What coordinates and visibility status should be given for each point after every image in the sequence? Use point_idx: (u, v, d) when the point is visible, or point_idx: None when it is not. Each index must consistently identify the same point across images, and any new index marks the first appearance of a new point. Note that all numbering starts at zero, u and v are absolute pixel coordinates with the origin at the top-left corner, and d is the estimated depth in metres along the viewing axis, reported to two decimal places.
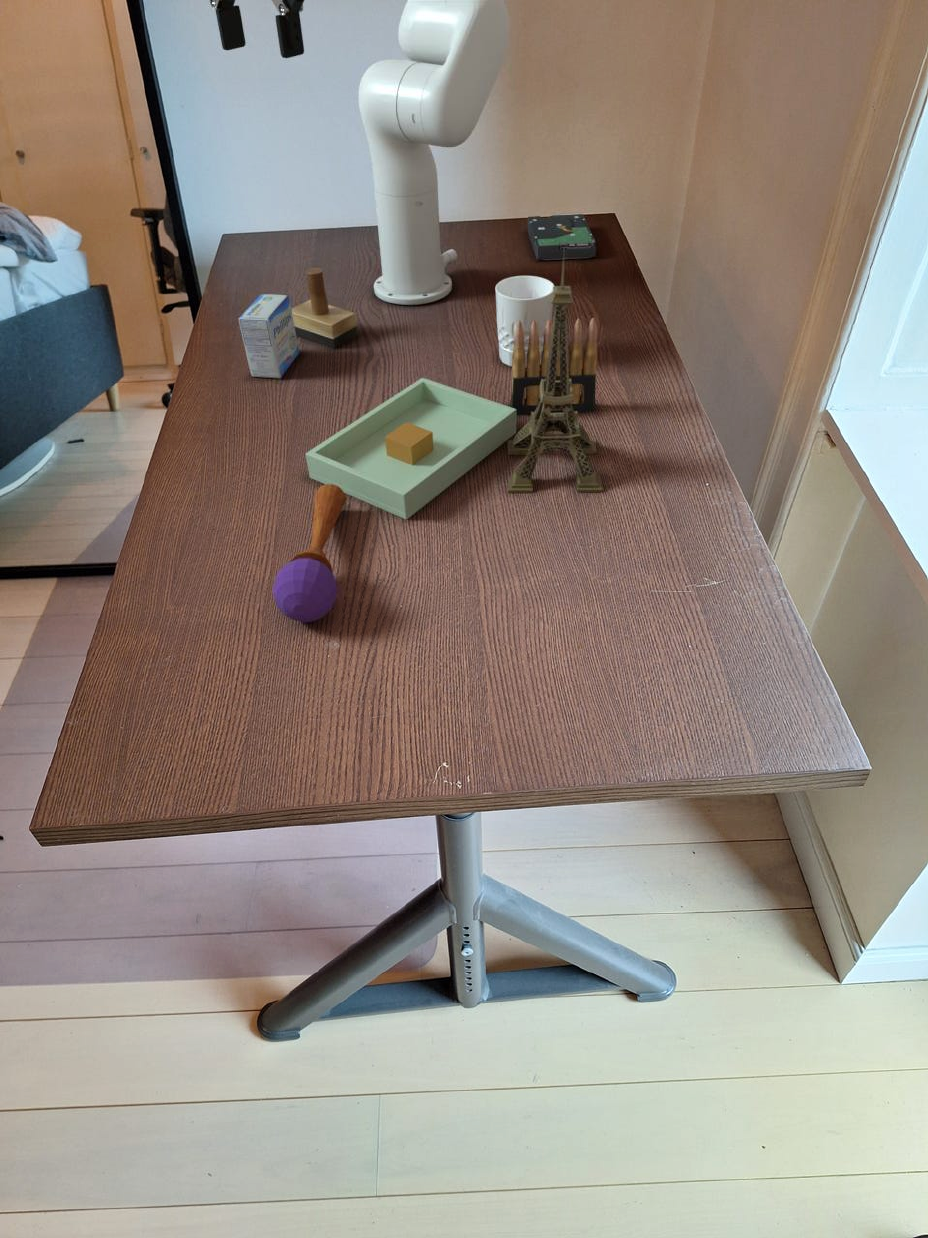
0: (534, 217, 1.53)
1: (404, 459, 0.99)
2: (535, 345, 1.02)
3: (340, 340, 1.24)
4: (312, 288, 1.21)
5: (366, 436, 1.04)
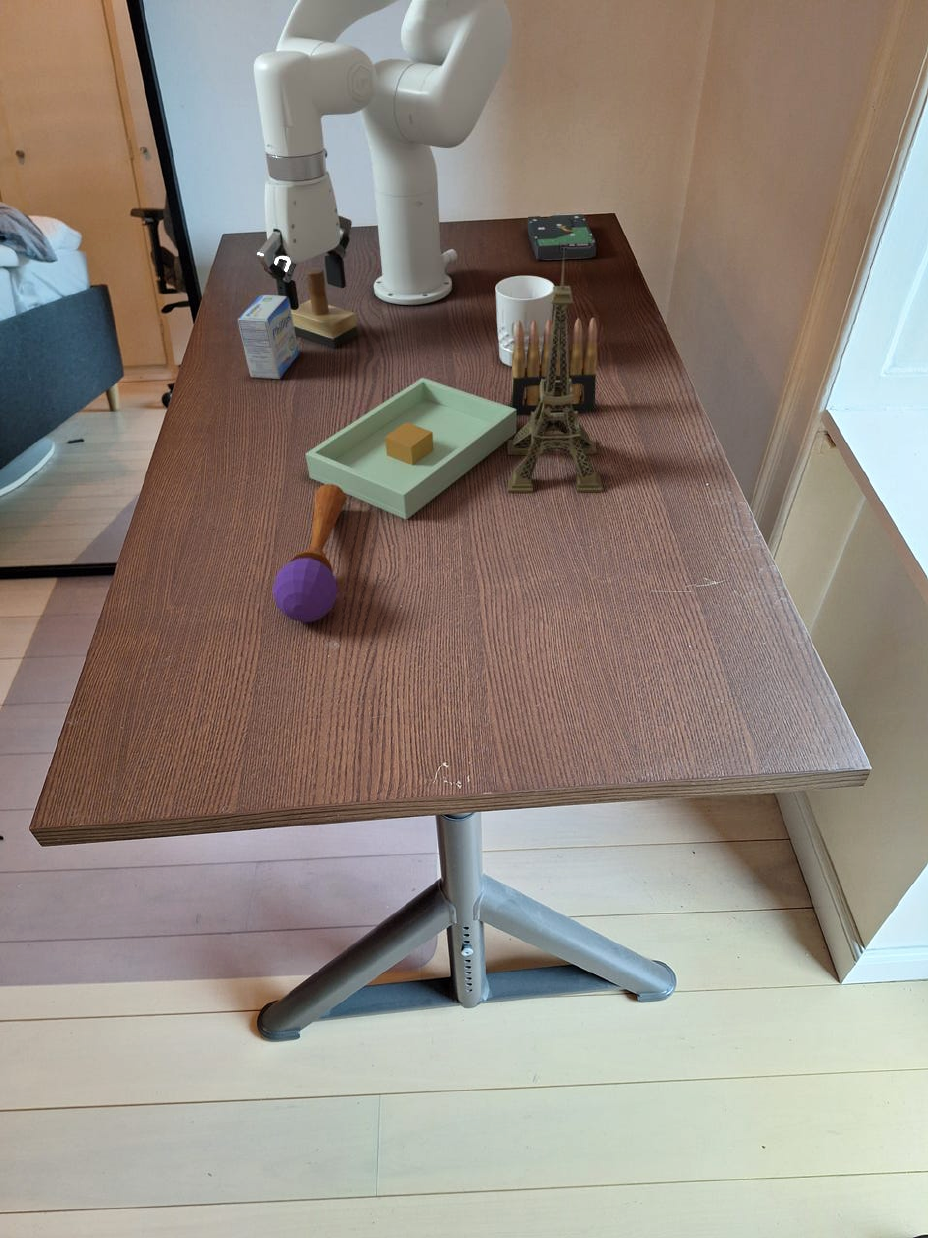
0: (534, 217, 1.53)
1: (404, 459, 0.99)
2: (535, 345, 1.02)
3: (340, 340, 1.24)
4: (312, 288, 1.21)
5: (366, 436, 1.04)
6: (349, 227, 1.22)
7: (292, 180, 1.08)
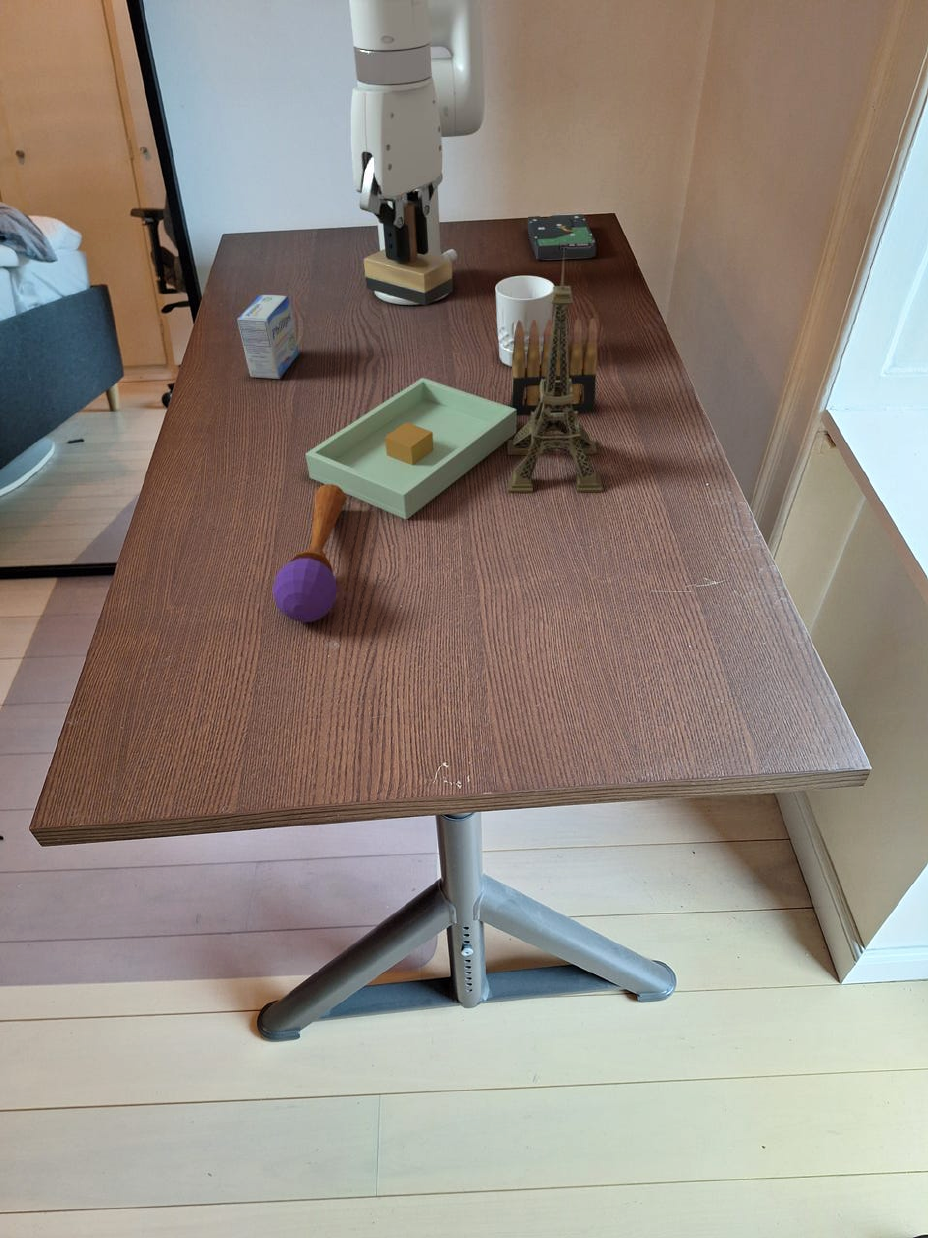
0: (534, 217, 1.53)
1: (404, 459, 0.99)
2: (535, 345, 1.02)
3: (432, 295, 0.96)
4: None
5: (366, 436, 1.04)
6: (438, 182, 0.95)
7: (390, 83, 0.82)
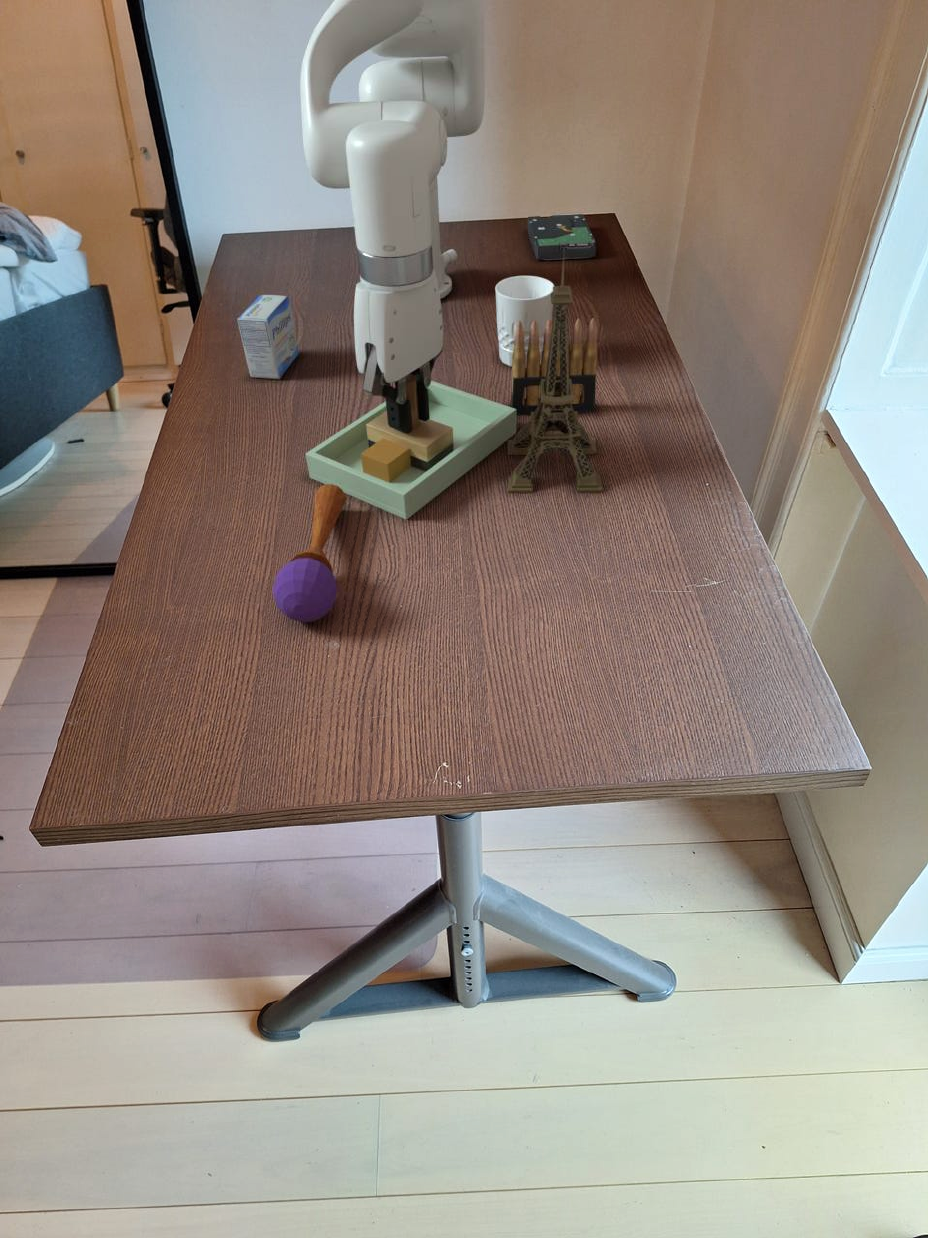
0: (534, 217, 1.53)
1: (381, 476, 0.97)
2: (535, 345, 1.02)
3: (435, 462, 0.98)
4: None
5: (366, 436, 1.04)
6: (438, 353, 0.97)
7: (393, 285, 0.84)
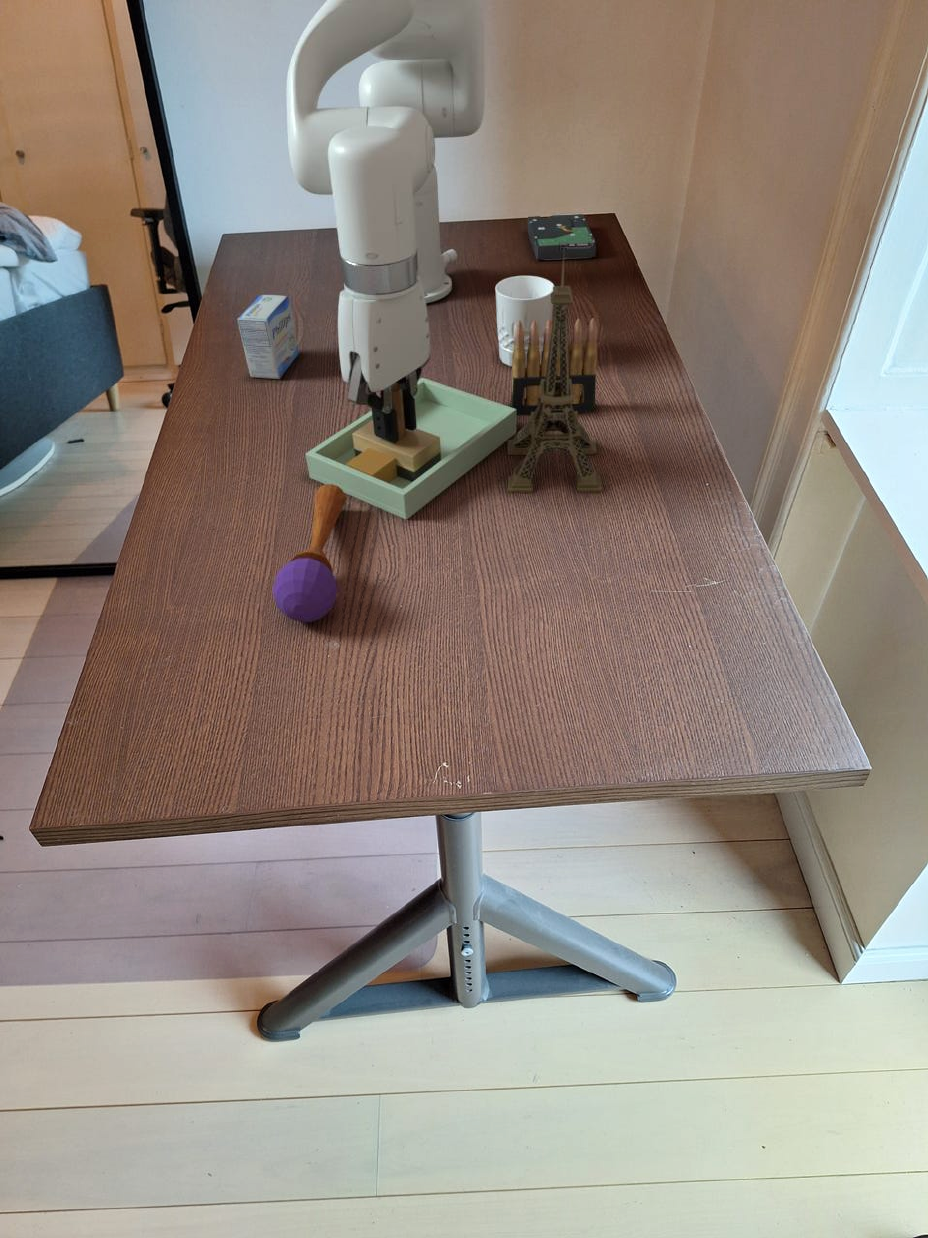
0: (534, 217, 1.53)
1: None
2: (535, 345, 1.02)
3: (422, 472, 0.97)
4: None
5: None
6: (425, 361, 0.96)
7: (376, 293, 0.82)
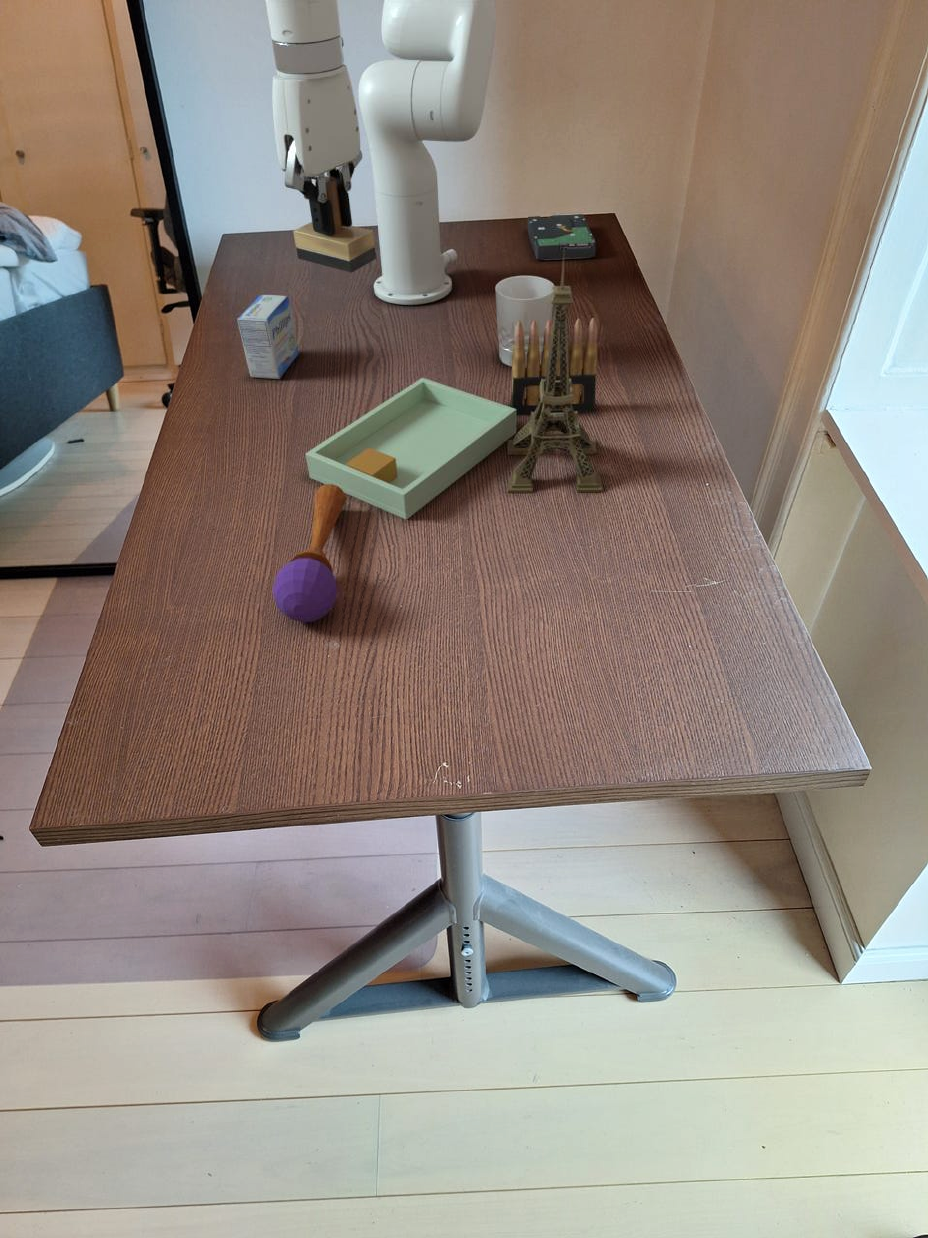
0: (534, 217, 1.53)
1: None
2: (535, 345, 1.02)
3: (357, 263, 1.06)
4: None
5: (366, 436, 1.04)
6: (358, 160, 1.05)
7: (305, 73, 0.92)
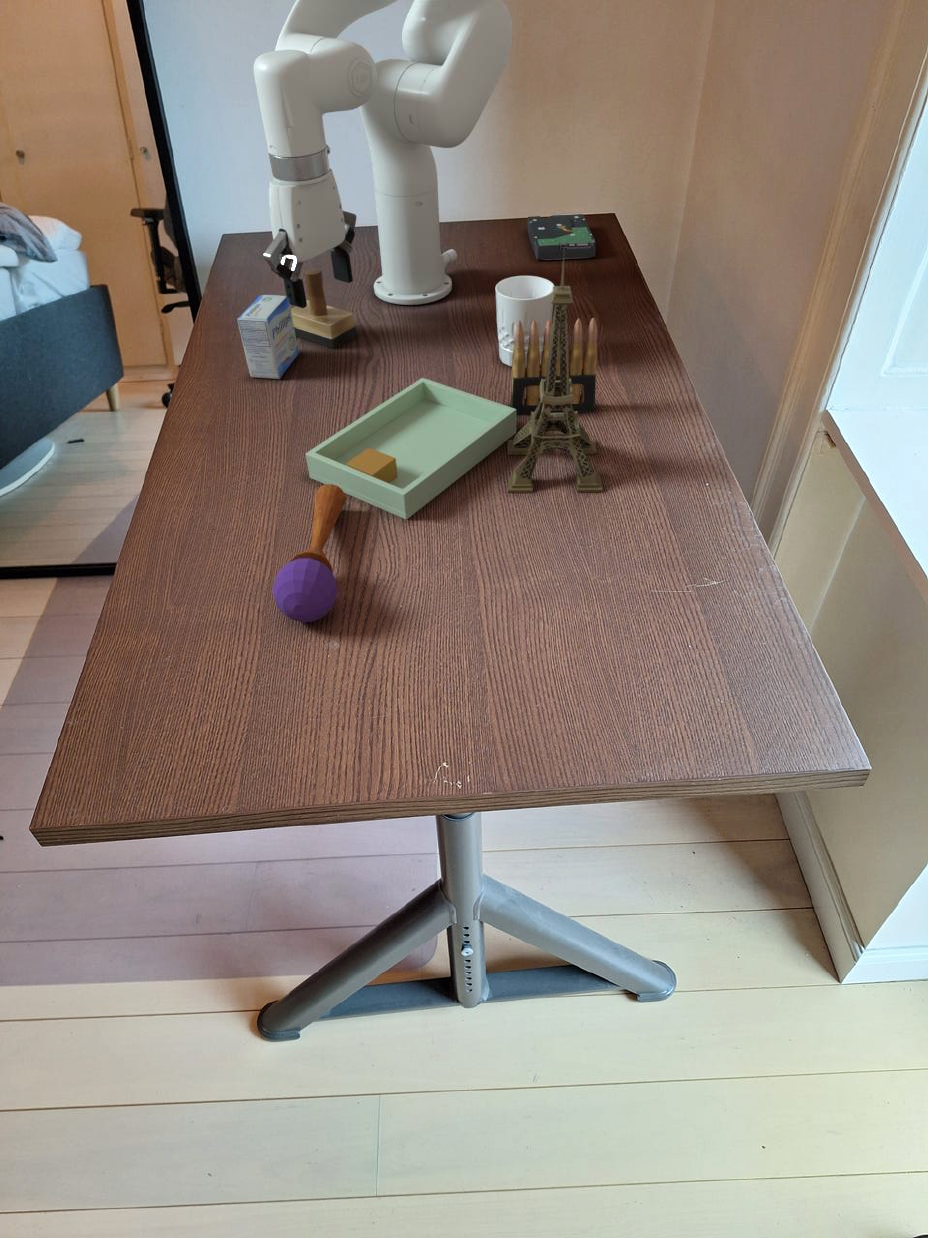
0: (534, 217, 1.53)
1: None
2: (535, 345, 1.02)
3: (339, 341, 1.24)
4: (311, 289, 1.21)
5: (366, 436, 1.04)
6: (354, 221, 1.22)
7: (296, 180, 1.09)
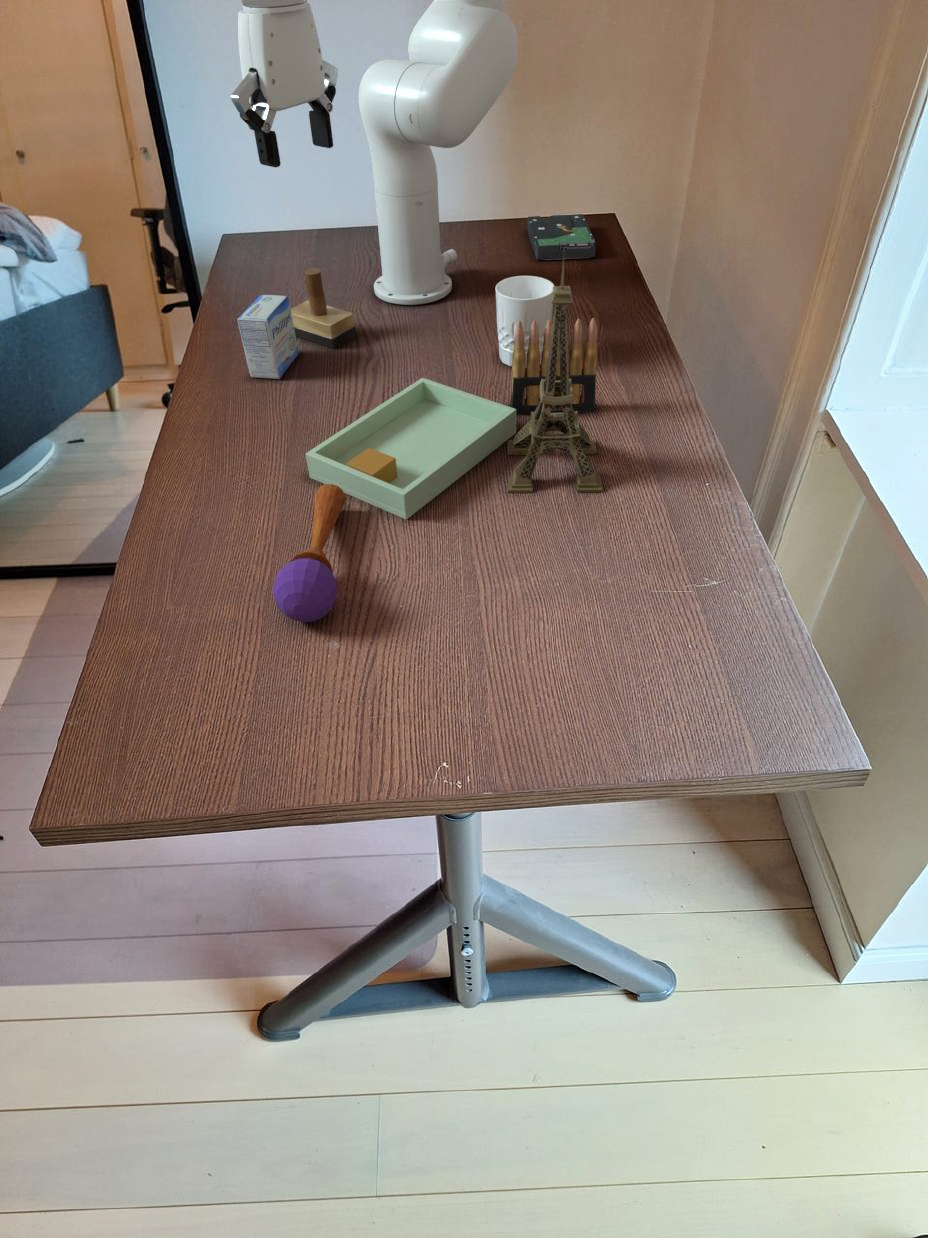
0: (534, 217, 1.53)
1: None
2: (535, 345, 1.02)
3: (339, 341, 1.24)
4: (311, 289, 1.21)
5: (366, 436, 1.04)
6: (335, 76, 1.09)
7: (268, 6, 0.96)
